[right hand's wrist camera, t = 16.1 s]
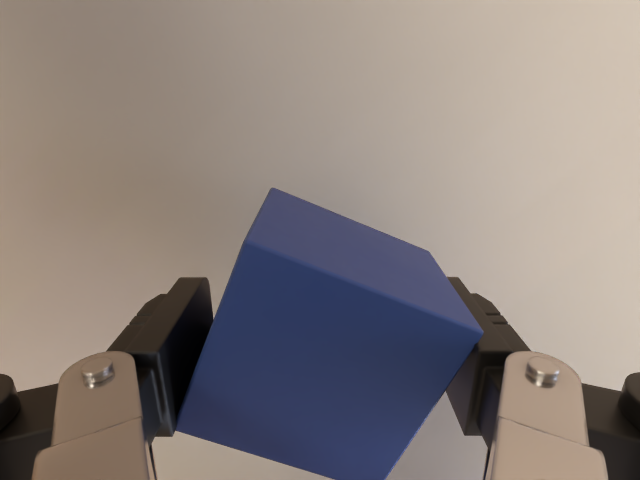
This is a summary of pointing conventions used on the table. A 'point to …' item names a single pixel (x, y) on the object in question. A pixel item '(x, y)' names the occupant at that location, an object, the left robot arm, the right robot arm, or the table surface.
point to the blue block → (326, 345)
